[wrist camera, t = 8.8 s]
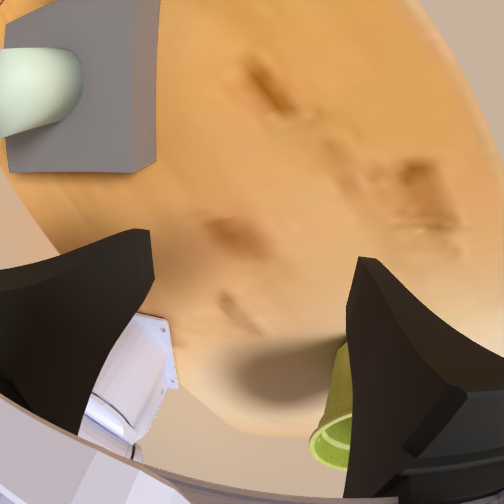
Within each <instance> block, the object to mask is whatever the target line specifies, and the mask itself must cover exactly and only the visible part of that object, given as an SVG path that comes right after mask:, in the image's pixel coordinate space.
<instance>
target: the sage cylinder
mask: <svg viewBox="0 0 504 504" xmlns="http://www.w3.org/2000/svg"><path fill="white" fill-rule="evenodd" d="M83 82H84V75H83V68H82V65H81V62H80V60H79V58H78V57H77V55H76V54H75V53H74V52H73V51H71V50H69V49H67V48H9V49H0V139H1V138H4V137H7V136H10V135H13V134H16V133H19V132H23V131H26V130H29V129H33V128H36V127H40V126H43V125H47V124H51V123H55V122H58V121H61V120H63V119H65V118H67V117H68V116H69V115H70V114H71V113H72V112H73V110H74V109H75V108H76V106H77V104H78V102H79V100H80V97H81V94H82V90H83Z"/></svg>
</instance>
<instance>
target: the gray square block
mask: <svg viewBox="0 0 504 504" xmlns="http://www.w3.org/2000/svg"><path fill="white" fill-rule="evenodd" d="M159 10H160V0H58V1H56V2H53V3H51V4H48V5H46V6H44V7H41V8H39V9H37V10H35V11H32V12H30V13H28V14H26V15H24V16H22V17H20V18H18V19H16V20H14V21H12V22H10V23H8V24H6V28H5V39H4V49H9V48H67V49H69V50H71V51H73V52H74V53H75V54H76V55H77V57H78V58H79V60H80V62H81V65H82V68H83V75H84V82H83V90H82V94H81V97H80V100H79V102H78V104H77V106H76V108H75V109H74V110H73V112H72V113H71V114H70V115H69V116H68V117H67V118H65V119H63V120H61V121H58V122H55V123H51V124H47V125H43V126H40V127H36V128H33V129H29V130H26V131H23V132H19V133H16V134H13V135H10V136H7V137H5V140H6V150H7V158H8V166H9V173H24V172H118V173H135V172H137V171H139V170H141V169H143V168H144V167H146V166H148V165H150V164H152V163H154V162H156V115H155V111H156V61H157V39H158V23H159Z"/></svg>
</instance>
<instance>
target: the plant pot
mask: <svg viewBox="0 0 504 504" xmlns="http://www.w3.org/2000/svg"><path fill="white" fill-rule="evenodd" d="M352 406H353V391H352V378H351V369H350V361H349V352H348V344H347V342H346V343H345V344H344V345H343V346H342V347H341V348H339V349H338V351H337V352H336V355H335V361H334V366H333V372H332V379H331V384H330V389H329V394H328V399H327V403H326V408H325V412H324V415H323V417H322V418H321V420H320V422H319V425H318V428H317V429H316V430H315V431H314V432H313V434H312V435H311V437H310V440H309V451H310V453H311V455H312V456H313V458H314V459H316V460H317V461H318V462H320V463H322V464H323V465H326V466H328V467H331V468H335V469H339V470H345V471H347V468H348V460H349V452H350V441H351V427H352Z"/></svg>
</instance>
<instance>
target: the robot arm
mask: <svg viewBox="0 0 504 504" xmlns="http://www.w3.org/2000/svg"><path fill="white" fill-rule="evenodd" d="M154 280H155V276H154V268H153V259H152V250H151V240H150V230H144V229H130V230H126V231H123V232H120V233H117V234H114V235H112V236H109V237H107V238H104V239H101V240H99V241H96V242H94V243H91V244H89V245H86V246H84V247H81V248H78V249H76V250H73V251H70V252H68V253H65V254H62V255H59V256H56V257H53V258H50V259H47V260H43V261H40V262H36V263H33V264H28V265H23V266H19V267H14V268H9V269H3V270H0V504H504V358H503V357H501V356H499V355H497V354H495V353H493V352H491V351H490V350H488V349H486V348H484V347H482V346H480V345H479V344H477V343H475V342H474V341H472V340H470V339H469V338H467V337H466V336H464V335H463V334H461V333H460V332H458V331H457V330H455V329H454V328H452V327H451V326H450V325H448V324H447V323H446V322H444V321H443V320H442V319H440V318H439V317H438V316H437V315H435V314H434V313H433V312H432V311H430V310H429V309H428V308H427V307H426V306H425V305H424V304H423V303H421V302H420V301H419V300H418V299H417V298H416V297H415V296H414V295H413V294H412V293H411V292H410V291H409V290H408V289H407V288H406V287H405V286H404V285H403V284H402V283H401V282H400V281H399V280H398V279H397V278H396V277H395V276H394V275H393V274H392V273H391V272H390V271H389V270H388V269H387V268H386V267H385V266H384V265H383V264H382V263H381V262H380V261H378V260H377V259H375V258H367V257H360V256H359V257H358V261H357V265H356V269H355V274H354V278H353V282H352V286H351V290H350V293H349V297H348V301H347V305H346V336H347V344H348V352H349V361H350V369H351V378H352V391H353V406H352V427H351V441H350V452H349V460H348V468H347V476H346V482H345V489H344V494H343V498H319V497H304V496H291V495H282V494H274V493H266V492H259V491H252V490H246V489H241V488H235V487H229V486H224V485H220V484H215V483H211V482H206V481H202V480H198V479H194V478H189V477H186V476H182V475H178V474H175V473H171V472H168V471H165V470H161V469H158V468H155V467H152V466H148V465H146V464H143V455H142V449H141V447H140V446H139V445H138V444H136V443H135V441H137V440H139V439H141V438H142V437H143V436H144V435H145V434H146V433H147V432H148V431H149V429H150V427H151V425H152V422H153V420H154V418H155V416H156V414H157V411H158V409H159V407H160V405H161V403H162V401H163V398H164V396H165V394H166V392H167V390H168V388H169V389H173V390H176V389H178V386H179V385H178V379H177V374H176V368H175V362H174V356H173V349H172V343H171V336H170V329H169V323H168V322H167V320H165V319H163V318H158V317H153V316H149V315H144V314H140V313H136V312H137V311H138V309H139V308H140V306H141V305H142V303H143V302H144V300H145V298H146V296H147V294H148V292H149V290H150V288H151V286H152V284H153V282H154ZM163 328H164V329H163Z"/></svg>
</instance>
